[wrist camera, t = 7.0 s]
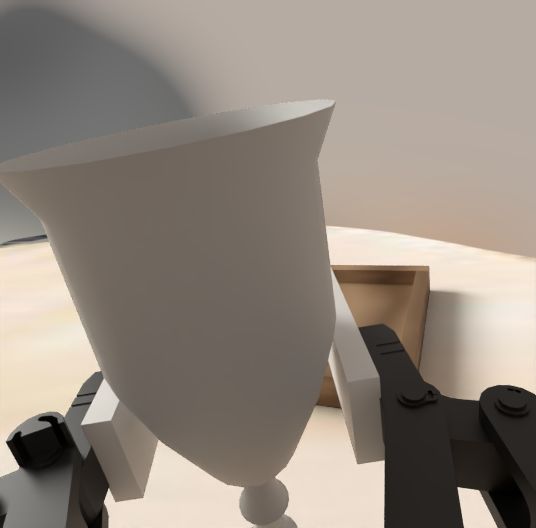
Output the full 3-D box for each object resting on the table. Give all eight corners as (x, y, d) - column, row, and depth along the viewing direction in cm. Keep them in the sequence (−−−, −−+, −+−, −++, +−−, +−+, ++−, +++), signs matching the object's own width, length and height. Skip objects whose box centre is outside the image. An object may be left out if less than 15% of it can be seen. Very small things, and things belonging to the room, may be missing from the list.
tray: (125, 375, 34) (116, 350, 33) (220, 283, 47) (215, 264, 46) (412, 418, 25) (410, 386, 24) (429, 289, 38) (429, 265, 37)
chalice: (431, 719, 13) (411, 99, 6) (214, 807, 12) (-116, 204, 5) (343, 507, 20) (284, 99, 13) (200, 554, 19) (50, 145, 12)
